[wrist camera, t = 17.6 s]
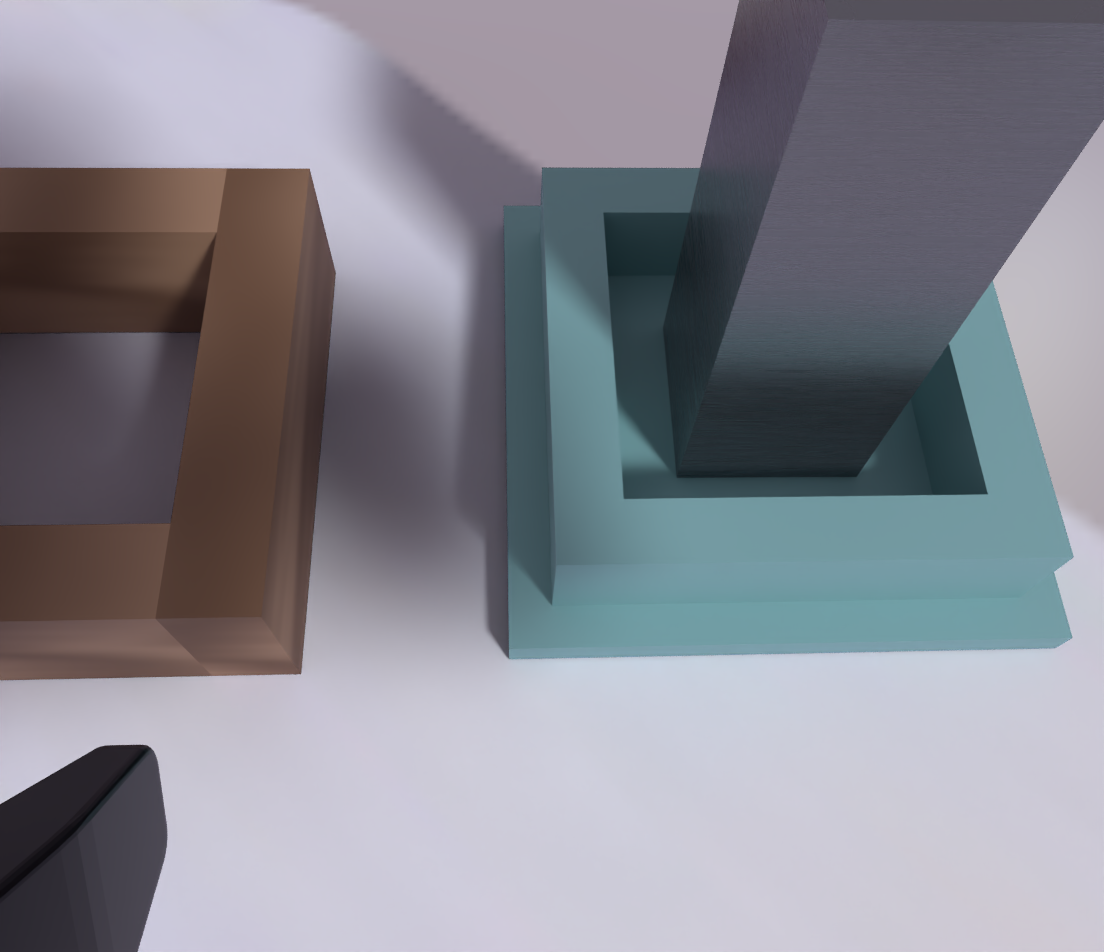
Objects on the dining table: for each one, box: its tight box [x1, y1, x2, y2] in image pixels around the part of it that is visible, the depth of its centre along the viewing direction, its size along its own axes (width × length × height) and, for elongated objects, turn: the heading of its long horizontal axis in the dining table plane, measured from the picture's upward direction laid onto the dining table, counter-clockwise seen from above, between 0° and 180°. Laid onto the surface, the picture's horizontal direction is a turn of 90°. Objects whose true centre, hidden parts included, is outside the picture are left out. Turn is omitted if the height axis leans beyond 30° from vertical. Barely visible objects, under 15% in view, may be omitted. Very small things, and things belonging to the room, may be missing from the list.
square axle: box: [663, 0, 1104, 478], centre depth 19 cm, size 4×4×13 cm
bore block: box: [0, 168, 336, 680], centre depth 23 cm, size 12×12×4 cm
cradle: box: [504, 168, 1074, 659], centre depth 25 cm, size 13×13×3 cm
